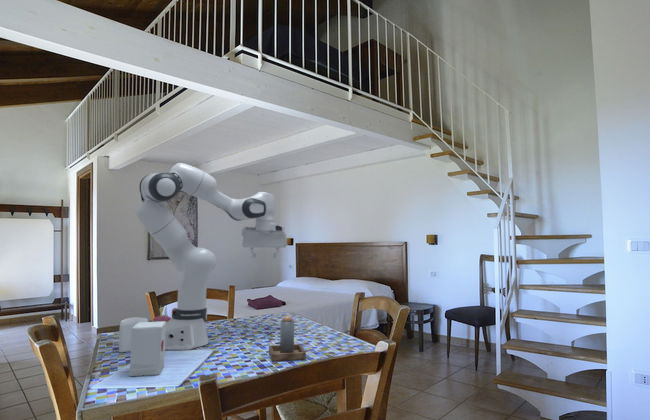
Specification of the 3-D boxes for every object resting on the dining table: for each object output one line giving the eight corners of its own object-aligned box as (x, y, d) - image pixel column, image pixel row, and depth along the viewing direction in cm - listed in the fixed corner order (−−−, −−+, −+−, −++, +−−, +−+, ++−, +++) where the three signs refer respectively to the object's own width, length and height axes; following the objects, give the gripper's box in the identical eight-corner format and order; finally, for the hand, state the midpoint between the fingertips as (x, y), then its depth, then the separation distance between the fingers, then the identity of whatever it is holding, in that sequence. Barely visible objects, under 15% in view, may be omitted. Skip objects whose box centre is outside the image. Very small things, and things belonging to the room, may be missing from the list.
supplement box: (159, 375, 125) (161, 326, 126) (128, 377, 123) (130, 327, 124) (165, 366, 134) (166, 320, 135) (136, 367, 132) (138, 321, 133)
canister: (280, 356, 144) (281, 318, 145) (279, 352, 149) (279, 315, 150) (294, 355, 145) (295, 317, 146) (292, 352, 150) (293, 315, 151)
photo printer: (117, 353, 148) (119, 319, 149) (119, 350, 152) (120, 317, 153) (148, 350, 152) (149, 317, 153) (148, 347, 156) (149, 315, 157)
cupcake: (167, 333, 179) (168, 306, 180) (148, 333, 179) (149, 306, 180) (174, 329, 187) (175, 303, 188) (156, 328, 187) (157, 302, 188)
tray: (271, 361, 140) (272, 354, 140) (268, 352, 151) (269, 345, 151) (305, 359, 142) (305, 352, 142) (300, 350, 154) (300, 343, 154)
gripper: (242, 226, 178) (241, 257, 177) (287, 227, 183) (287, 257, 182) (241, 227, 185) (241, 257, 184) (286, 227, 189) (285, 257, 188)
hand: (264, 257), depth 183 cm, fingers open, 8 cm apart
